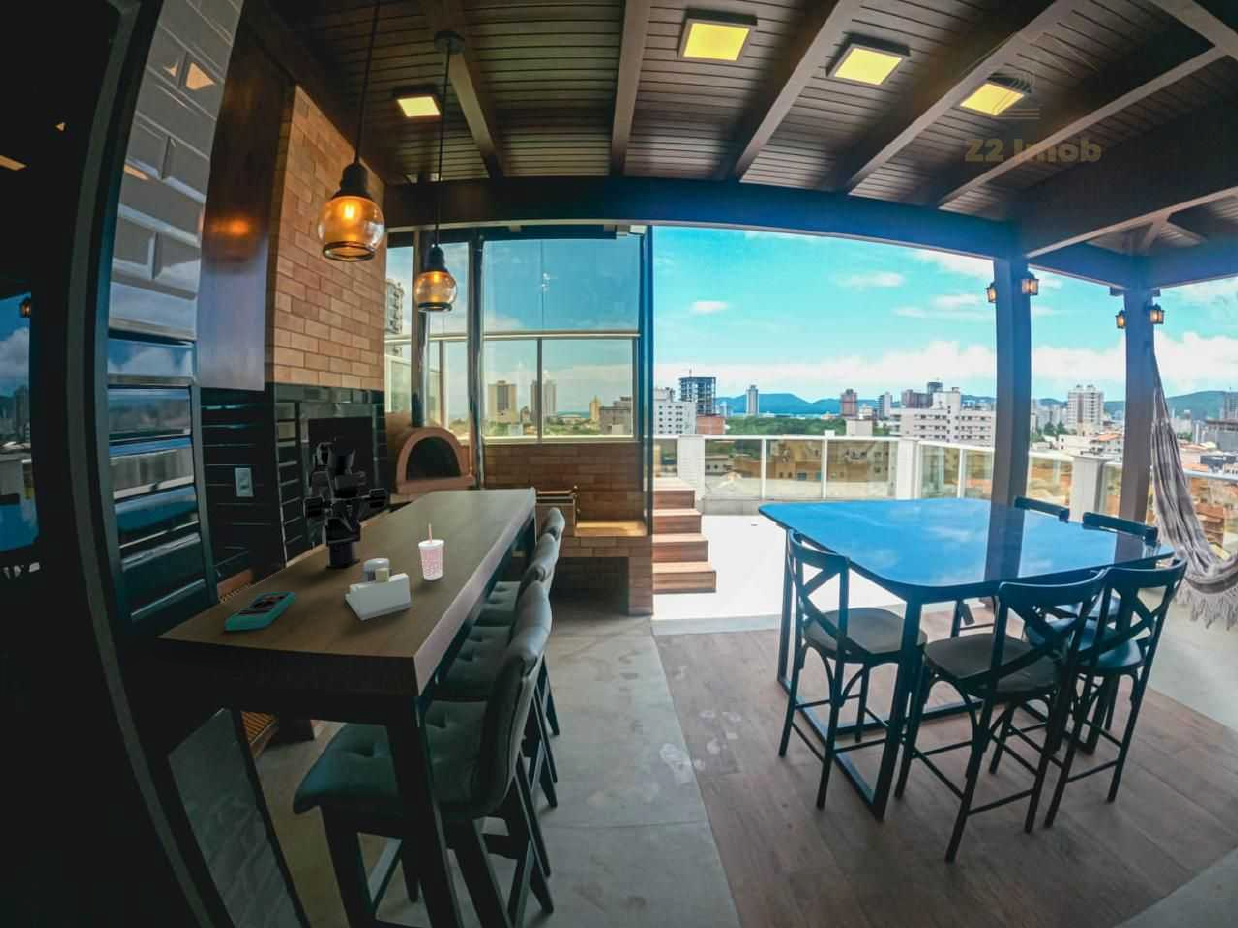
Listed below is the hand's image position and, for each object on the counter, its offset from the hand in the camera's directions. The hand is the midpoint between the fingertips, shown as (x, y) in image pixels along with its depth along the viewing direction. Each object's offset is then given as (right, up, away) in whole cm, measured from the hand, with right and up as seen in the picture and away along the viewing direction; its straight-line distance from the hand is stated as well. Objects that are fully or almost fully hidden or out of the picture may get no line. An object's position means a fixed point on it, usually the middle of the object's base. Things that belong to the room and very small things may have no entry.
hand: (353, 530), depth 122 cm
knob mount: (+11, -15, -11) cm, 22 cm away
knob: (+12, -14, -12) cm, 22 cm away
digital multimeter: (-11, -17, -16) cm, 26 cm away
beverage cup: (+18, -13, +5) cm, 23 cm away
